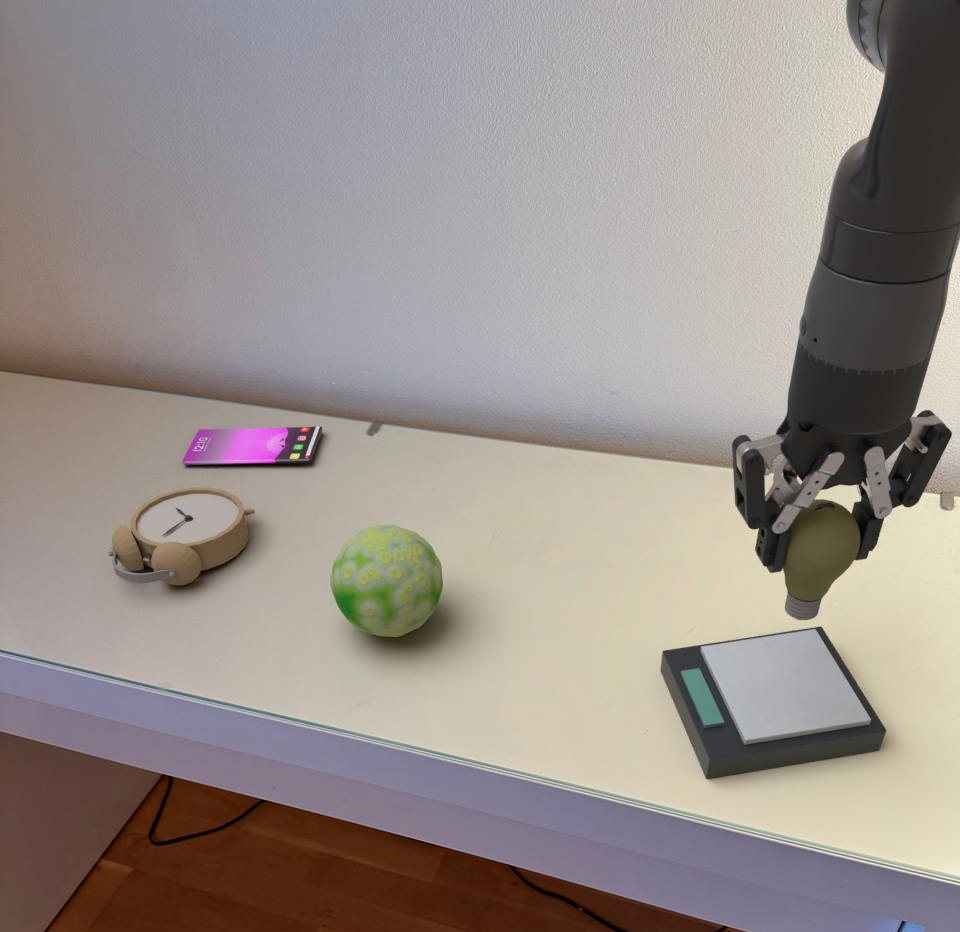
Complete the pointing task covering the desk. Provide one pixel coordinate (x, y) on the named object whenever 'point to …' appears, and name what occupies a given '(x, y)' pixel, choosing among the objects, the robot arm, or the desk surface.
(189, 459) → the smartphone
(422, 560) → the decorative ball
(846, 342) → the robot arm
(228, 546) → the alarm clock
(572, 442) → the desk surface
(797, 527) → the light bulb
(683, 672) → the scale
